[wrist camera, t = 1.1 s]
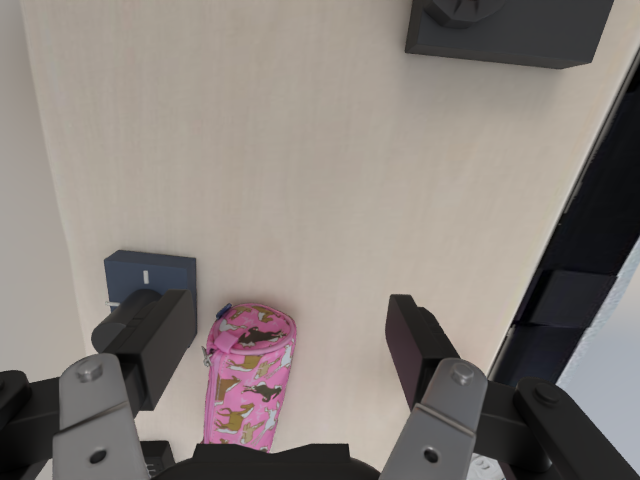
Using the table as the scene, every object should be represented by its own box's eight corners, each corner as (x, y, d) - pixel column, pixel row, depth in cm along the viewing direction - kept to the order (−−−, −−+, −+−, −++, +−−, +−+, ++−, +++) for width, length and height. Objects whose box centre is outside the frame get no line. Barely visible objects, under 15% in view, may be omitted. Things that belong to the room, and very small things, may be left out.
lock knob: (124, 286, 31) (84, 322, 25) (169, 291, 31) (139, 327, 26) (129, 322, 32) (92, 363, 27) (171, 326, 33) (143, 367, 27)
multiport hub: (168, 440, 43) (160, 457, 40) (182, 489, 47) (176, 507, 44) (136, 441, 43) (127, 458, 40) (153, 490, 47) (146, 508, 44)
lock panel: (115, 249, 32) (98, 260, 29) (198, 258, 32) (189, 269, 30) (125, 327, 35) (111, 342, 33) (199, 333, 36) (191, 349, 34)
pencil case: (219, 290, 34) (189, 344, 26) (300, 302, 35) (297, 359, 27) (207, 423, 42) (181, 498, 33) (275, 431, 42) (265, 506, 34)
